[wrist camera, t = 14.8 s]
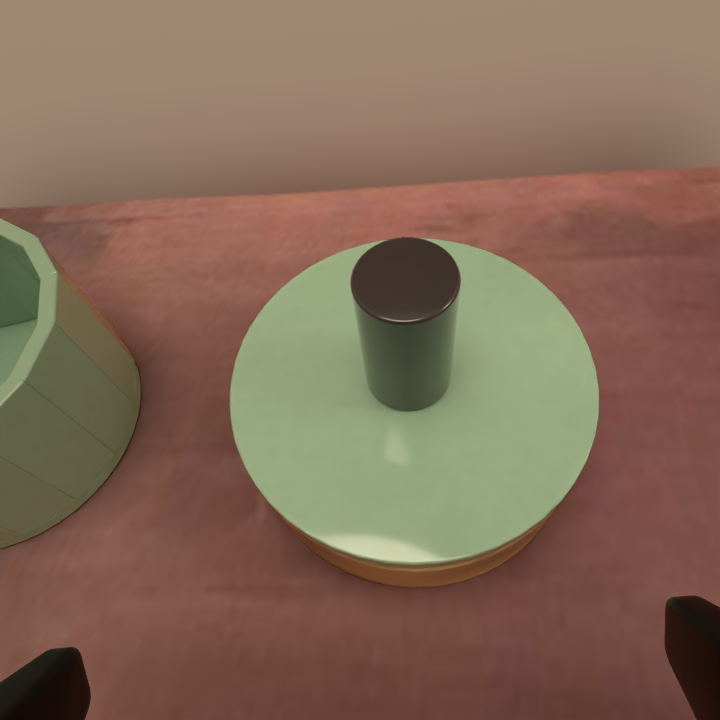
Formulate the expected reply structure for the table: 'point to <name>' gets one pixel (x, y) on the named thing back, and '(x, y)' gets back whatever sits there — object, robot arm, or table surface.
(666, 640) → the robot arm
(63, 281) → the green round open container
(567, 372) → the lid
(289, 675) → the table surface
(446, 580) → the disc
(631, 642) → the table surface
